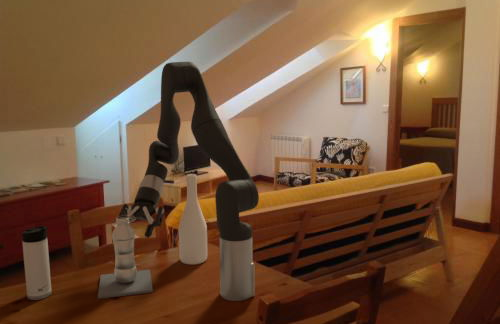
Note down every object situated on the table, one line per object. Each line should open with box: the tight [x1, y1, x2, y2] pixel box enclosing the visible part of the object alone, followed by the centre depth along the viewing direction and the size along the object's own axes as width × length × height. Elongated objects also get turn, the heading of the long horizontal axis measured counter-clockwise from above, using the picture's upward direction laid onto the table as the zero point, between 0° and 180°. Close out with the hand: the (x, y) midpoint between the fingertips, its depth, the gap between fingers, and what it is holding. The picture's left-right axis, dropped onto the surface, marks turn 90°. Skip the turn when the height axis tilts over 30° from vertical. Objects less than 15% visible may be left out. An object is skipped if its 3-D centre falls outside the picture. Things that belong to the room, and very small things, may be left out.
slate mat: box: [97, 269, 153, 300], centre depth 129 cm, size 15×15×1 cm
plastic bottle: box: [111, 215, 138, 283], centre depth 127 cm, size 6×7×20 cm
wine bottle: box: [178, 173, 208, 266], centre depth 145 cm, size 10×10×30 cm
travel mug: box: [21, 225, 52, 301], centre depth 120 cm, size 6×7×20 cm
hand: (134, 235), depth 133 cm, fingers open, 8 cm apart
